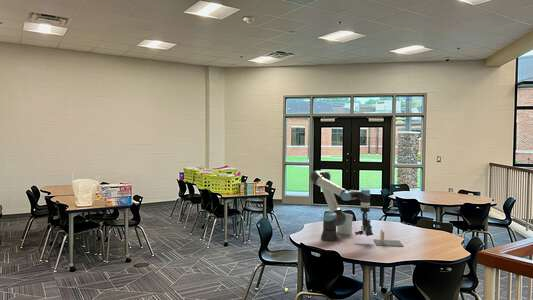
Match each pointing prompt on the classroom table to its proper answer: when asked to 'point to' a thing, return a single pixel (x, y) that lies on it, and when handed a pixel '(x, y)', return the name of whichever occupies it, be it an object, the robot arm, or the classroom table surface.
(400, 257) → the classroom table surface
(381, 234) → the tile
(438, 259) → the classroom table surface
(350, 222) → the utensil holder
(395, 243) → the mat
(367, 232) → the gun
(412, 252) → the classroom table surface
